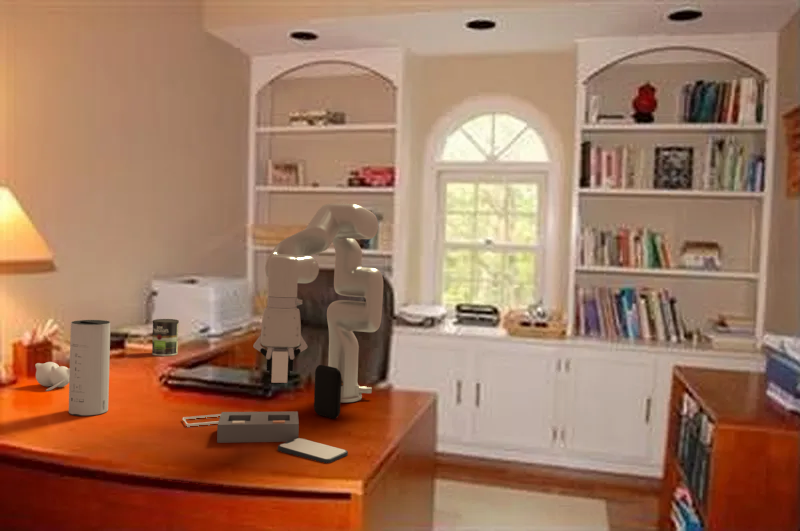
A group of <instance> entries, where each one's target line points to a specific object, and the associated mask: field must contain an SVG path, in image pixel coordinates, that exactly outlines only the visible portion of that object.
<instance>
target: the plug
mask: <svg viewBox="0 0 800 531" xmlns="http://www.w3.org/2000/svg"><path fill="white" fill-rule="evenodd" d="M271 355H272V374H271V383H273V384H274V383H277V384H279V383H281V384H283V383H285V384H288V356H289V350H288V348H273V349H272V353H271Z"/></svg>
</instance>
